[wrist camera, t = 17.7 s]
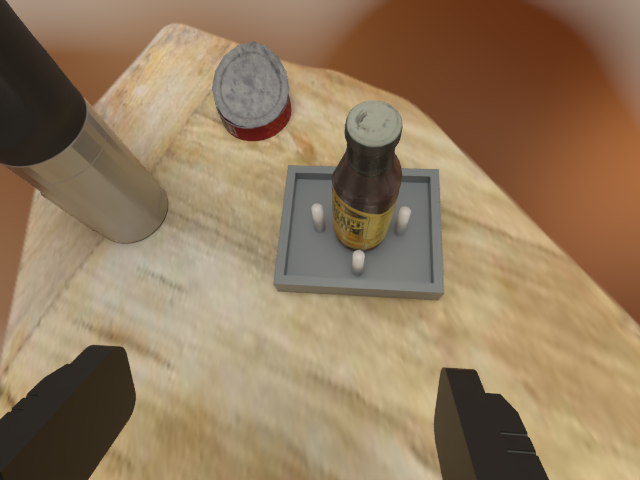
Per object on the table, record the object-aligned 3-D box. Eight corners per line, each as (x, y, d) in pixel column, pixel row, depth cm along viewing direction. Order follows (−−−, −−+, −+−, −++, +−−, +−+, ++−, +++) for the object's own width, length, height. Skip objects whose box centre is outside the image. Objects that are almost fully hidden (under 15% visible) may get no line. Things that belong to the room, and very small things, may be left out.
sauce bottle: (323, 222, 47) (307, 106, 29) (368, 197, 48) (379, 68, 30) (353, 267, 45) (357, 171, 27) (400, 239, 46) (433, 128, 27)
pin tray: (278, 291, 46) (267, 273, 40) (291, 178, 52) (283, 148, 46) (438, 300, 44) (451, 283, 38) (433, 182, 50) (445, 151, 44)
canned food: (295, 121, 61) (319, 88, 52) (252, 164, 57) (269, 136, 48) (239, 65, 59) (254, 20, 50) (191, 106, 55) (197, 65, 46)
